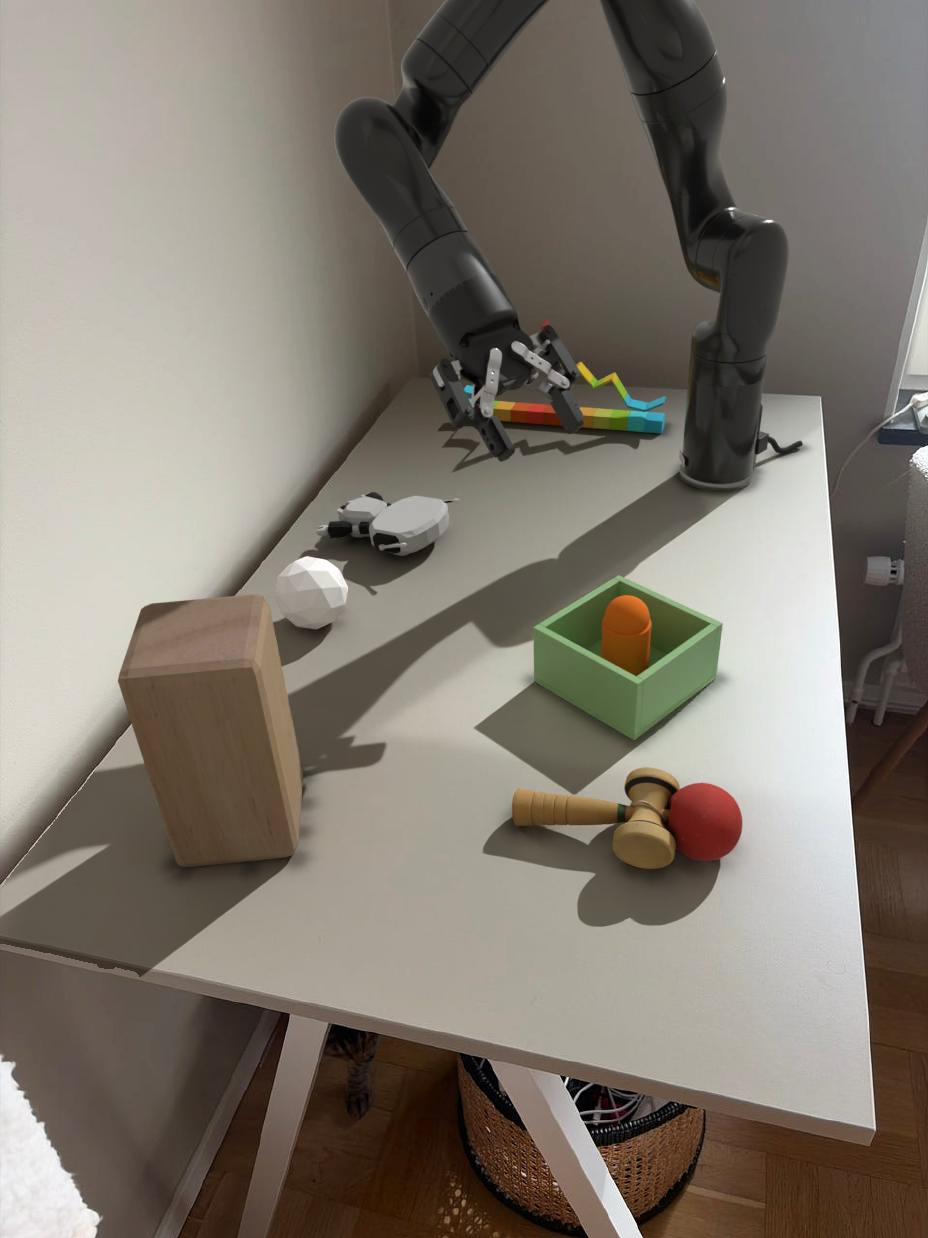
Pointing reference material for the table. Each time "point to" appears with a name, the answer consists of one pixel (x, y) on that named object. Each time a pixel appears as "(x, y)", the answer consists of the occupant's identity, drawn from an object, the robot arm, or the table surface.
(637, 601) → the orange peg figure
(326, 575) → the geometric ball
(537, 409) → the chart
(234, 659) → the block
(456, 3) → the robot arm
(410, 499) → the robot toy
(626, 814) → the kendama
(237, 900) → the table surface
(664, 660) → the bin
